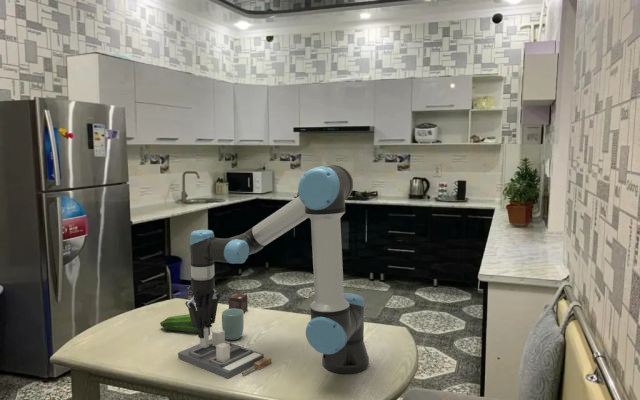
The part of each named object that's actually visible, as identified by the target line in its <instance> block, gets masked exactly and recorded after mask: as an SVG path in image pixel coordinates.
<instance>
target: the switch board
mask: <svg viewBox="0 0 640 400" xmlns="http://www.w3.org/2000/svg"><path fill="white" fill-rule="evenodd" d="M225 343H226V344H229V345H230V360H228V361H226V362H224V363H222V362H219V361H216V347H215V346H212V338H210V339H209V347H206V348H204V347H201V346H200V343H199V344H195V345H194V346H192V347H188V348H186V349H182V350H181V351H179V352H178V353H177V357H178V359H179V360H181V361H183V362H186V363H187V364H188V363H189V364H191V365H193V366H196V367H198V368H201V369H203V370H206V371H208V372H211V373H213V374H215V375H218V376H220V377H223V378H224V379H225V378H226V379H228V380H229V379H230V378H232V377H234V376H236V375H238V374H240V373H243V372H245V371H247V370H249V369H251V368H253V367H254V363H255V362H257V361H259V360H261V359H263V358H265V354H263V353H261V352H258V351H254V350H252V349H249V348H247V347H243V346H241V345H238V344H234V343H232V342H229V341H226V340H225Z"/></svg>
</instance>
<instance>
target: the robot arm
mask: <svg viewBox="0 0 640 400" xmlns="http://www.w3.org/2000/svg"><path fill="white" fill-rule="evenodd" d="M353 190H354V180H353V177H352V174H351V173H350V172H349V171H348V170H347V168H345V167H342V166H340V165H336V164H334V165H324V166H323V165H320V166H315V167H313V168H311V169H309V170H307V171H306V172H305V173H303V175H302V176H301V177H300V179H299V182H298V187H297V194H298V196H297V197H295V198H294V199H292V200H291V201H289V202H288V203H286V204H285V205H284V206H282V207H281V208H279V209H278V210H276V211H275V212H273V213H272V214H270V215H269V216H267V217H266V218H264V219H263V220H261V221H260V222H258V223H257V224H256V225H254V226H252V227H251V228H250V229H248V230H246V231H245V232H244V233H241V234H238V235H235V236H232V237H229V238H222V237H221V238H219V237H215V234H214V231H213V230H210V229H197V230H194V231H191V233H190V237H189V252H190V253H189V254H190V276H191V279H190V288H191V291H192V294H191V298H190V300H189V301H186V302H185V303H184V304H185V306H186V307H187V309H188V314H190V318H191V322H192V326H193V327H194V328H197V329H198V333H197V334H198V335H197V336H198V338H199V344H200V346H201V347H204V348H206V347H209V340H210V339H209V337H210V336H211V328H212V327H213V324H215V322H216V318H217V317H216V316H217V310H218V304H219V300H220V298H221V294H220V293H216V292H215V288H216V286H215V285H216V284H215V281H216V280H215V279H216V278H215V274H216V273H215V262H218V263H226V264H227V263H229V264H232V265H234V264H244V263H245V262H246V260H247V259H248V258H249V256H250V255H252V254H257V253H258V252H260V251H261V250H262V249H264V247H265V246H267V245H268V244H271V242H273V241H274V240H276V239H277V238H279V237H281V236H282V235H284V234H285V233H287V232H289V231H291V229H293V228H294V227H296V226H298V225H300V224H301V223H302V222H304V221H306V219H310V228H311V230H310V231H311V247H312V249H311V250H312V265H313V266H312V267H313V271H312V272H313V285H314V286H313V287H314V288H313V289H314V300H313V301H312V302H311V303H310V307H309V308H310V321H309V322H308V323H307V324H306V325H307V326H306V328H305V338H306V341H307V342H308V344H309V345H310V347H312V348H313V349H314V350H315V351H316V352H318V353H320V354H322V356H321V357H322V362H321V363H322V366H323V367H324V368H325V369H326V370H328V371H330V372H332V373H336V374H340V375H341V374H344V375H350V374H357V373H361V372H363V371H365V370H367V368H368V367H369V366H368V365H369V364H370V360H369V359H370V357H369V354H368V351H367V348H366V345H365V341H364V335H365V334H364V333H365V331H364V328H365V325H364V324H365V300H364V298H363V296H361V295H360V294H356V293H350V292H349V293H348V292H344V290H345V289H344V288H345V287H344V271H343V270H344V269H343V249H342V248H343V247H342V228H341V218H342V216H343V215H344V214H345V213H346V200H347V199H348V198H349V197H350V196H351V193H352V191H353Z"/></svg>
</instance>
